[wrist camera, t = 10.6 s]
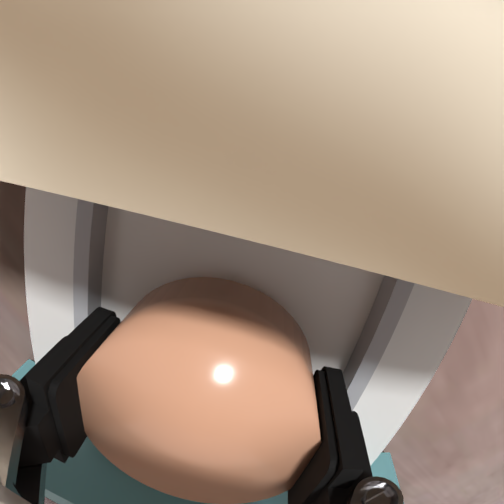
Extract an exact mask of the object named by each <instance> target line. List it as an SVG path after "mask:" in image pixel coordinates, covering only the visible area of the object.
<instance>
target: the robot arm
mask: <svg viewBox="0 0 504 504" xmlns="http://www.w3.org/2000/svg"><path fill="white" fill-rule="evenodd" d="M119 324H120V318H118V317H116V313H115V312H114V311H111V310H108V309H105V308H102V307H98V308H96V309H95V310H94V311H93V312H92V313H91V314H90V315H89V316H88V317H87V318H86V319H84V320H83V321H82V322H81V323H80V324H79V325H78V326H77V327H76V328H75V329H74V330H73V331H72V332H71V333H70V334H69V335H68V336H65V337H63V338H62V339H61V340H60V341H59V342H58V343H57V344H56V345H55V346H54V347H53V348H52V349H51V350H50V351H49V352H48V353H46V354H45V355H44V356H43V357H42V358H41V359H40V360H39V361H38V362H37V363H36V364H35V365H34V366H33V367H32V368H31V369H30V370H29V371H28V372H27V373H26V374H25V376H24V377H23V378H22V379H21V380H20V381H19V380H17V379H16V378H14V377H12V376H9V375H3V374H0V504H44V497H45V482H46V471H47V463H50V462H51V461H52V460H53V458H55V459H57V460H59V461H61V462H63V463H66V461H67V459H68V458H69V457H71V458H73V457H75V455H76V454H77V452H78V451H79V449H80V447H81V446H82V444H83V442H84V441H85V439H86V437H87V435H86V433H85V430H84V424H83V419H82V413H81V406H80V400H79V393H78V385H77V375H78V374H79V372H80V370H81V369H82V367H83V366H84V364H85V363H86V362H87V361H88V360H89V359H90V357H91V356H92V355H93V354H94V353H95V351H96V350H97V349H98V348H99V347H100V346H101V344H102V343H103V342H104V341H105V340H106V339H107V337H108V336H109V335H110V334H111V333H112V332H113V330H114V329H115V328H116V327H117V326H118V325H119ZM313 377H314V385H315V393H316V401H317V410H318V418H319V427H320V436H321V445H320V446H319V448H318V449H317V451H316V452H315V454H314V456H313V457H312V459H311V460H310V462H309V463H308V465H307V466H306V468H305V469H304V471H303V472H302V474H301V475H300V477H299V478H298V479H297V481H296V482H295V484H294V485H293V487H292V488H291V489H289V490H288V504H403V495H402V492H401V490H400V489H399V488H398V486H397V485H396V484H395V483H393V482H392V481H390V480H388V479H386V478H383V477H378V476H374V477H373V475H372V471H371V466H370V462H369V457H368V453H367V449H366V444H365V440H364V436H363V432H362V428H361V424H360V420H359V416H358V414H357V412H355V411H352V410H351V406H350V401H349V397H348V393H347V389H346V385H345V381H344V377H343V373H342V370H341V369H337V368H331V367H325V366H324V367H323V368H322V369H321V370H316V371H315V373H314V375H313Z"/></svg>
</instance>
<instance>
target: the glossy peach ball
mask: <svg viewBox="0 0 504 504" xmlns="http://www.w3.org/2000/svg"><path fill="white" fill-rule="evenodd" d="M77 385H78V393H79V400H80V406H81V413H82V419H83V424H84V430H85V433H86V435H87V436H88V438H89V439H90V440H91V442H92V443H93V444H94V446H95V447H96V448H97V449H98V450H99V451H100V452H101V453H102V454H103V455H104V456H105V457H106V458H107V459H108V460H109V461H110V462H111V463H112V464H114V465H115V466H116V467H117V468H119V469H120V470H121V471H123V472H124V473H126V474H127V475H129V476H130V477H132V478H134V479H135V480H137V481H139V482H141V483H143V484H145V485H147V486H149V487H151V488H153V489H155V490H158V491H160V492H163V493H166V494H168V495H172V496H175V497H178V498H182V499H186V500H191V501H196V502H202V503H211V504H242V503H249V502H256V501H260V500H264V499H268V498H271V497H274V496H276V495H279V494H281V493H283V492H285V491H287V490H289V489H291V488H292V487H293V485H294V484H295V482H296V481H297V479H298V478H299V477H300V475H301V474H302V472H303V471H304V469H305V468H306V466H307V465H308V463H309V462H310V460H311V459H312V457H313V456H314V454H315V452H316V451H317V449H318V448H319V446H320V445H321V436H320V427H319V418H318V410H317V401H316V393H315V385H314V377H313V369H312V362H311V355H310V349H309V346H308V343H307V340H306V337H305V335H304V333H303V332H302V330H301V328H300V326H299V325H298V323H297V322H296V321H295V319H294V318H293V317H292V316H291V315H290V314H289V313H288V312H287V311H286V310H285V309H284V307H282V306H281V305H280V304H278V303H277V302H276V301H275V300H273V299H272V298H270V297H269V296H267V295H265V294H264V293H262V292H261V291H258V290H256V289H254V288H252V287H250V286H247V285H244V284H241V283H238V282H235V281H231V280H226V279H221V278H212V277H192V278H185V279H180V280H175V281H172V282H169V283H166V284H164V285H162V286H160V287H158V288H156V289H154V290H152V291H151V292H150V293H148V294H147V295H145V296H144V297H143V298H142V299H141V300H140V301H139V302H138V303H137V304H136V305H135V307H134V308H133V309H132V310H131V311H130V312H129V313H128V314H127V316H126V317H125V318H124V319H123V320H122V321H121V322H120V324H119V325H118V326H117V327H116V328H115V329H114V330H113V332H112V333H111V334H110V335H109V336H108V337H107V339H106V340H105V341H104V342H103V343H102V344H101V346H100V347H99V348H98V349H97V350H96V351H95V353H94V354H93V355H92V356H91V357H90V359H89V360H88V361H87V362H86V363H85V364H84V366H83V367H82V369H81V370H80V372H79V374H78V375H77Z"/></svg>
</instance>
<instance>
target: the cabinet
mask: <svg viewBox="0 0 504 504" xmlns="http://www.w3.org/2000/svg"><path fill="white" fill-rule="evenodd" d="M0 181H3V182H8V183H12V184H16V185H21V186H25V187H29V188H34V189H38V190H42V191H47V192H51V193H55V194H60V195H64V196H68V197H72V198H77V199H81V200H85V201H89V202H93V203H98V204H102V205H106V206H110V207H114V208H119V209H123V210H127V211H131V212H135V213H139V214H143V215H148V216H152V217H156V218H160V219H164V220H168V221H172V222H176V223H180V224H184V225H189V226H193V227H197V228H201V229H205V230H209V231H213V232H217V233H221V234H225V235H229V236H233V237H237V238H241V239H245V240H249V241H253V242H257V243H261V244H265V245H269V246H273V247H277V248H281V249H285V250H289V251H293V252H296V253H300V254H304V255H308V256H312V257H316V258H320V259H324V260H328V261H332V262H336V263H339V264H343V265H347V266H351V267H355V268H359V269H363V270H366V271H370V272H374V273H378V274H382V275H386V276H389V277H393V278H397V279H401V280H405V281H408V282H412V283H416V284H420V285H423V286H427V287H431V288H435V289H438V290H442V291H446V292H450V293H453V294H457V295H461V296H465V297H468V298H472V299H476V300H479V301H483V302H487V303H490V304H494V305H498V306H501V307H504V0H0Z"/></svg>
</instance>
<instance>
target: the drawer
mask: <svg viewBox="0 0 504 504" xmlns="http://www.w3.org/2000/svg"><path fill="white" fill-rule="evenodd" d="M24 268H25V287H26V299H27V310H28V319H29V327H30V335H31V341H32V348H33V354H34V360H35V362H34V361H32V360H30V359H28V360H27V361H26V362H25V363H24V364H23V365H22V366H21V367H20V368H19V369H18V370H17V371H16V372H15V373H14V374H13V375H12V377H14V378H16V379H17V380H19V381H20V380H21V379H22V378H23V377H24V376H25V374H26V373H27V372H28V371H29V370H30V369H31V368H32V367H33V366H34V365H35V364H36V363H37V362H38V361H39V360H40V359H41V358H42V357H43V356H44V355H45V354H46V353H48V352H49V351H50V350H51V349H52V348H53V347H54V346H55V345H56V344H57V343H58V342H59V341H60V340H61V339H62V338H63V337H65V336H68V335H69V334H70V333H71V332H72V331H73V330H74V329H75V328H76V327H77V326H78V325H79V324H80V323H81V322H82V321H83V320H84V319H86V318H87V317H88V316H89V315H90V314H91V313H92V312H93V311H94V310H95V309H96V308H98V307H102V308H105V309H108V310H111V311H114V312H115V313H116V317H118V318H120V322H121V321H122V320H123V319H124V318H125V317H126V316H127V314H128V313H129V312H130V311H131V310H132V309H133V308H134V307H135V305H136V304H137V303H138V302H139V301H140V300H141V299H142V298H143V297H144V296H145V295H147V294H148V293H150V292H151V291H152V290H154V289H156V288H158V287H160V286H162V285H164V284H166V283H169V282H172V281H175V280H180V279H185V278H192V277H212V278H221V279H226V280H231V281H235V282H238V283H241V284H244V285H247V286H250V287H252V288H254V289H256V290H258V291H261V292H262V293H264V294H265V295H267V296H269V297H270V298H272V299H273V300H275V301H276V302H277V303H278V304H280V305H281V306H282V307H284V309H285V310H286V311H287V312H288V313H289V314H290V315H291V316H292V317H293V318H294V319H295V321H296V322H297V323H298V325H299V326H300V328H301V330H302V332H303V333H304V335H305V337H306V340H307V343H308V346H309V349H310V355H311V362H312V369H313V375H314V373H315V371H316V370H321V369H322V368H323V367H324V366H325V367H331V368H337V369H341V370H342V373H343V377H344V381H345V385H346V389H347V393H348V397H349V401H350V406H351V410H352V411H355V412H357V414H358V416H359V420H360V424H361V428H362V432H363V436H364V440H365V444H366V449H367V453H368V457H369V462H370V466H371V471H372V475H373V477H374V476H378V477H383V478H386V479H388V480H390V481H392V482H393V483H395V484H396V485H397V486H398V488H399V489H400V487H399V483H398V479H397V476H396V472H395V469H394V465H393V462H392V458H391V455H390V453H383V452H382V451H383V450H384V448H385V447H386V446H387V444H388V443H389V442H390V440H391V439H392V438H393V436H394V435H395V434H396V432H397V431H398V429H399V428H400V427H401V425H402V424H403V422H404V421H405V419H406V418H407V417H408V415H409V414H410V412H411V411H412V409H413V408H414V406H415V405H416V403H417V402H418V400H419V398H420V397H421V395H422V394H423V392H424V390H425V389H426V387H427V386H428V384H429V382H430V381H431V379H432V377H433V375H434V374H435V372H436V370H437V369H438V367H439V365H440V363H441V361H442V360H443V358H444V356H445V354H446V352H447V350H448V349H449V347H450V345H451V343H452V341H453V339H454V337H455V335H456V333H457V331H458V329H459V327H460V325H461V323H462V321H463V318H464V316H465V314H466V312H467V310H468V307H469V305H470V303H471V301H472V298H468V297H465V296H461V295H457V294H453V293H450V292H446V291H442V290H438V289H435V288H431V287H427V286H423V285H420V284H416V283H412V282H408V281H405V280H401V279H397V278H393V277H389V276H386V275H382V274H378V273H374V272H370V271H366V270H363V269H359V268H355V267H351V266H347V265H343V264H339V263H336V262H332V261H328V260H324V259H320V258H316V257H312V256H308V255H304V254H300V253H296V252H293V251H289V250H285V249H281V248H277V247H273V246H269V245H265V244H261V243H257V242H253V241H249V240H245V239H241V238H237V237H233V236H229V235H225V234H221V233H217V232H213V231H209V230H205V229H201V228H197V227H193V226H189V225H184V224H180V223H176V222H172V221H168V220H164V219H160V218H156V217H152V216H148V215H143V214H139V213H135V212H131V211H127V210H123V209H119V208H114V207H110V206H106V205H102V204H98V203H93V202H89V201H85V200H81V199H77V198H72V197H68V196H64V195H60V194H55V193H51V192H47V191H42V190H38V189H34V188H29V187H26V194H25V213H24ZM45 497H46V498H48V499H50V500H52V501H54V502H56V503H57V504H211V503H202V502H196V501H191V500H186V499H182V498H178V497H175V496H172V495H168V494H166V493H163V492H160V491H158V490H155V489H153V488H151V487H149V486H147V485H145V484H143V483H141V482H139V481H137V480H135V479H134V478H132V477H130V476H129V475H127V474H126V473H124V472H123V471H121V470H120V469H119V468H117V467H116V466H115V465H114V464H112V463H111V462H110V461H109V460H108V459H107V458H106V457H105V456H104V455H103V454H102V453H101V452H100V451H99V450H98V449H97V448H96V447H95V446H94V444H93V443H92V442H91V440H90V439H89V438H88V436H87V437H86V439H85V441H84V442H83V444H82V446H81V447H80V449H79V451H78V452H77V454H76V455H75V457H73V458H71V457H69V458H68V459H67V461H66V463H63V462H61V461H59V460H57V459H55V458H53V460H52V461H51V462H50V463H47V471H46V482H45ZM242 504H288V490H287V491H285V492H283V493H281V494H279V495H276V496H274V497H271V498H268V499H264V500H260V501H256V502H249V503H242ZM403 504H404V502H403Z"/></svg>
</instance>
